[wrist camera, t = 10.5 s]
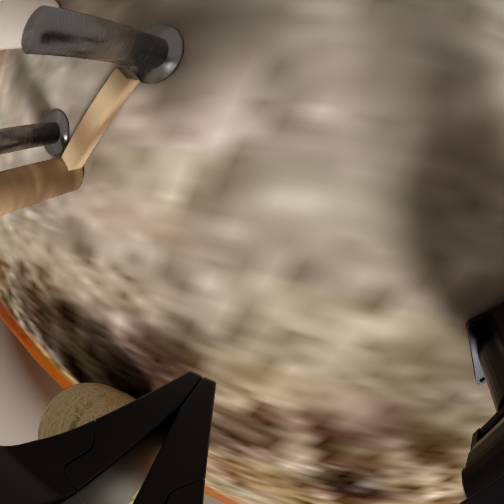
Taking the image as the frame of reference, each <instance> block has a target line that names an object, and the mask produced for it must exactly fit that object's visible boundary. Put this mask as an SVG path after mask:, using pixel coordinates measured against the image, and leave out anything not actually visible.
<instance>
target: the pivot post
mask: <svg viewBox="0 0 504 504" xmlns="http://www.w3.org/2000/svg"><path fill="white" fill-rule="evenodd" d="M21 46H22V50H23V52H24V53H26V54H40V55H54V56H66V57H75V58H84V59H91V60H99V61H105V62H112V63H118V64H124V65H129V69H130V70H131V71H132V72H133V73H134V74H135V75H136V76H137V77H138V78H139V80H140V82H143V83H148V84H153V83H158V82H161V81H163V80H165V79H166V78H168V77H169V76H170V75H171V74H172V73H173V72H174V71H175V70H176V68H177V67H178V65H179V64H180V61H181V59H182V56H183V51H184V43H183V39H182V36H181V34H180V33H179V31H178V30H176V29H175V28H174V27H172V26H169V25H165V24H158V25H154V26H151V27H149V28H147V29H146V30H144V31H141V30H138V29H135V28H132V27H129V26H126V25H123V24H120V23H116V22H113V21H110V20H106V19H102V18H99V17H95V16H91V15H87V14H83V13H79V12H75V11H71V10H66V9H61V8H56V7H51V6H46V5H43V6H40V7H38V8H37V9H36V10H35V11H34V12H33V13H32V14H31V16H30V17H29V19H28V21H27V23H26V25H25V27H24V30H23V34H22V39H21Z"/></svg>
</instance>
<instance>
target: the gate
mask: <svg viewBox="0 0 504 504" xmlns="http://www.w3.org/2000/svg"><path fill="white" fill-rule="evenodd" d="M139 82H140V80H139V78H138V77H137V76H136V75H135V74H134V73H133V72H132V71H131V70H130V69H124V68H118V67H116V68H115V70H114V71H113V73H112V74H111V75H110V77H109V78H108V80H107V81H106V83H105V84H104V86H103V87H102V89H101V90H100V92H99V93H98V95H97V96H96V98H95V99H94V101H93V102H92V104H91V106H90V107H89V109H88V110H87V112H86V114H85V115H84V117H83V119H82V120H81V122H80V124H79V126H78V127H77V129H76V131H75V133H74V134H73V136H72V138H71V140H70V142H69V143H68V145H67V147H66V149H65V151H64V153H63V155H62V157H60V158H55V159H51V160H46V161H42V162H37V163H33V164H29V165H25V166H21V167H17V168H13V169H9V170H5V171H2V172H0V216H2V215H5V214H8V213H10V212H13V211H16V210H18V209H21V208H24V207H26V206H29V205H32V204H35V203H38V202H41V201H44V200H46V199H49V198H52V197H55V196H59V195H62V194H65V193H68V192H71V191H74V190H77V189H78V188H79V187H80V185H81V183H82V179H83V170H82V167H83V165H84V163H85V162H86V160H87V158H88V157H89V155H90V153H91V152H92V150H93V148H94V147H95V145H96V144H97V142H98V140H99V139H100V137H101V136H102V134H103V133H104V131H105V130H106V128H107V127H108V125H109V124H110V122H111V121H112V119H113V118H114V116H115V115H116V113H117V112H118V110H119V109H120V108H121V106H122V105H123V103H124V102H125V101H126V99H127V98H128V97H129V95H130V94H131V93H132V91H133V90H134V89H135V87H136V86H137V85H138V83H139Z"/></svg>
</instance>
